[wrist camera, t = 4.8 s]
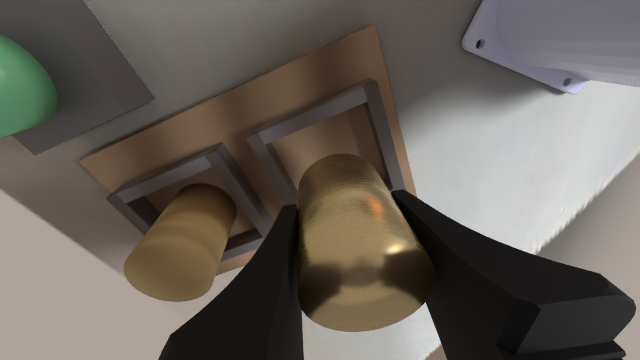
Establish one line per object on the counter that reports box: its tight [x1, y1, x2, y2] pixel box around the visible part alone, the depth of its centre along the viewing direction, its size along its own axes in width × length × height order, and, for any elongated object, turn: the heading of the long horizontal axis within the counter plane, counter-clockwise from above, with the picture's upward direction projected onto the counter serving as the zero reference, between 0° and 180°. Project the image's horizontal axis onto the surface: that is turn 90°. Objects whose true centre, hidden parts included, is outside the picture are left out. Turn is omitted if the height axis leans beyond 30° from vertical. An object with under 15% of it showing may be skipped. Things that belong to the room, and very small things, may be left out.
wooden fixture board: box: [78, 24, 417, 302], centre depth 16 cm, size 20×13×7 cm, turn 112°
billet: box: [297, 153, 436, 332], centre depth 10 cm, size 4×4×6 cm
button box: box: [0, 0, 155, 155], centre depth 13 cm, size 6×6×3 cm
